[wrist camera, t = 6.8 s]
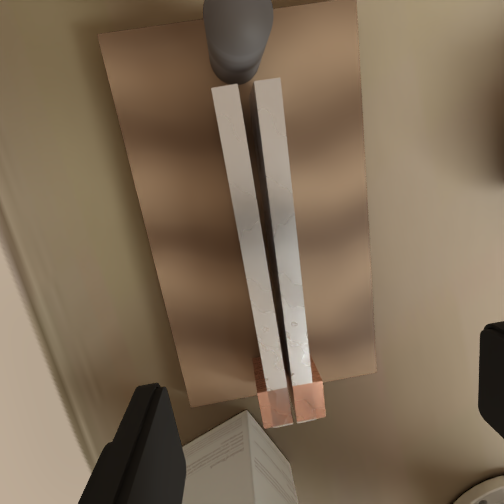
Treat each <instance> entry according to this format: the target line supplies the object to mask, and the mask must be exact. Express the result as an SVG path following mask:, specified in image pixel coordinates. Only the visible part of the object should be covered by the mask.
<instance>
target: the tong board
mask: <svg viewBox="0 0 504 504" xmlns="http://www.w3.org/2000/svg"><path fill="white" fill-rule="evenodd" d="M203 18H204V19H199V20H192V21H185V22H178V23H171V24H164V25H157V26H150V27H143V28H136V29H129V30H122V31H115V32H108V33H101V34H97V36H98V40H99V44H100V48H101V52H102V56H103V60H104V64H105V68H106V72H107V76H108V80H109V84H110V88H111V92H112V96H113V100H114V104H115V108H116V112H117V116H118V120H119V124H120V128H121V132H122V136H123V140H124V144H125V148H126V152H127V156H128V160H129V164H130V168H131V172H132V176H133V180H134V184H135V188H136V192H137V195H138V199H139V203H140V207H141V211H142V215H143V219H144V223H145V227H146V231H147V235H148V239H149V243H150V247H151V251H152V255H153V259H154V263H155V267H156V271H157V275H158V279H159V283H160V287H161V291H162V295H163V299H164V303H165V307H166V311H167V315H168V319H169V323H170V327H171V331H172V335H173V339H174V343H175V347H176V351H177V355H178V359H179V363H180V366H181V370H182V374H183V378H184V382H185V386H186V390H187V394H188V398H189V402H190V406H191V408H193V407H198V406H203V405H208V404H214V403H219V402H224V401H229V400H235V399H240V398H245V397H251V396H256V395H257V389H256V381H255V374H254V367H253V360H252V358H257V357H261V355H260V350H259V344H258V339H257V334H256V328H255V323H254V317H253V312H252V307H251V301H250V296H249V290H248V285H247V280H246V274H245V269H244V263H243V258H242V253H241V247H240V242H239V236H238V231H237V226H236V220H235V215H234V209H233V204H232V199H231V193H230V188H229V182H228V177H227V172H226V166H225V161H224V155H223V150H222V144H221V139H220V134H219V128H218V123H217V117H216V112H215V107H214V101H213V96H212V90H211V88H214V87H220V86H226V85H232V84H238V89H239V95H240V101H241V107H242V113H243V119H244V125H245V132H246V138H247V144H248V150H249V156H250V162H251V168H252V174H253V180H254V187H255V193H256V199H257V205H258V211H259V217H260V223H261V229H262V236H263V242H264V248H265V254H266V260H267V266H268V272H269V278H270V284H271V291H272V297H273V303H274V309H275V315H276V321H277V327H278V333H279V339H280V332H279V325H278V317H277V309H276V302H275V294H274V287H273V279H272V272H271V264H270V257H269V249H268V241H267V234H266V226H265V219H264V211H263V204H262V196H261V189H260V181H259V173H258V166H257V158H256V151H255V143H254V136H253V128H252V121H251V113H250V105H249V95H250V92H251V89H252V86H253V83H254V81H258V80H266V79H273V78H280V79H281V88H282V98H283V107H284V117H285V126H286V136H287V145H288V155H289V164H290V174H291V183H292V192H293V202H294V211H295V221H296V230H297V240H298V249H299V259H300V268H301V278H302V287H303V297H304V306H305V316H306V325H307V335H308V344H309V352H310V354H311V357H312V359H313V361H314V363H315V365H316V368H317V370H318V372H319V374H320V376H321V379H322V381H323V383H324V382H330V381H335V380H340V379H345V378H351V377H356V376H361V375H367V374H372V373H377V367H376V349H375V330H374V312H373V294H372V276H371V257H370V239H369V221H368V203H367V184H366V166H365V148H364V130H363V111H362V93H361V75H360V57H359V38H358V20H357V2H356V0H332V1H325V2H318V3H311V4H304V5H297V6H290V7H283V8H276V9H273V6H272V2H271V0H205V1H204V6H203ZM280 346H281V340H280ZM281 352H282V347H281ZM282 358H283V355H282ZM283 364H284V362H283Z"/></svg>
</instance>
